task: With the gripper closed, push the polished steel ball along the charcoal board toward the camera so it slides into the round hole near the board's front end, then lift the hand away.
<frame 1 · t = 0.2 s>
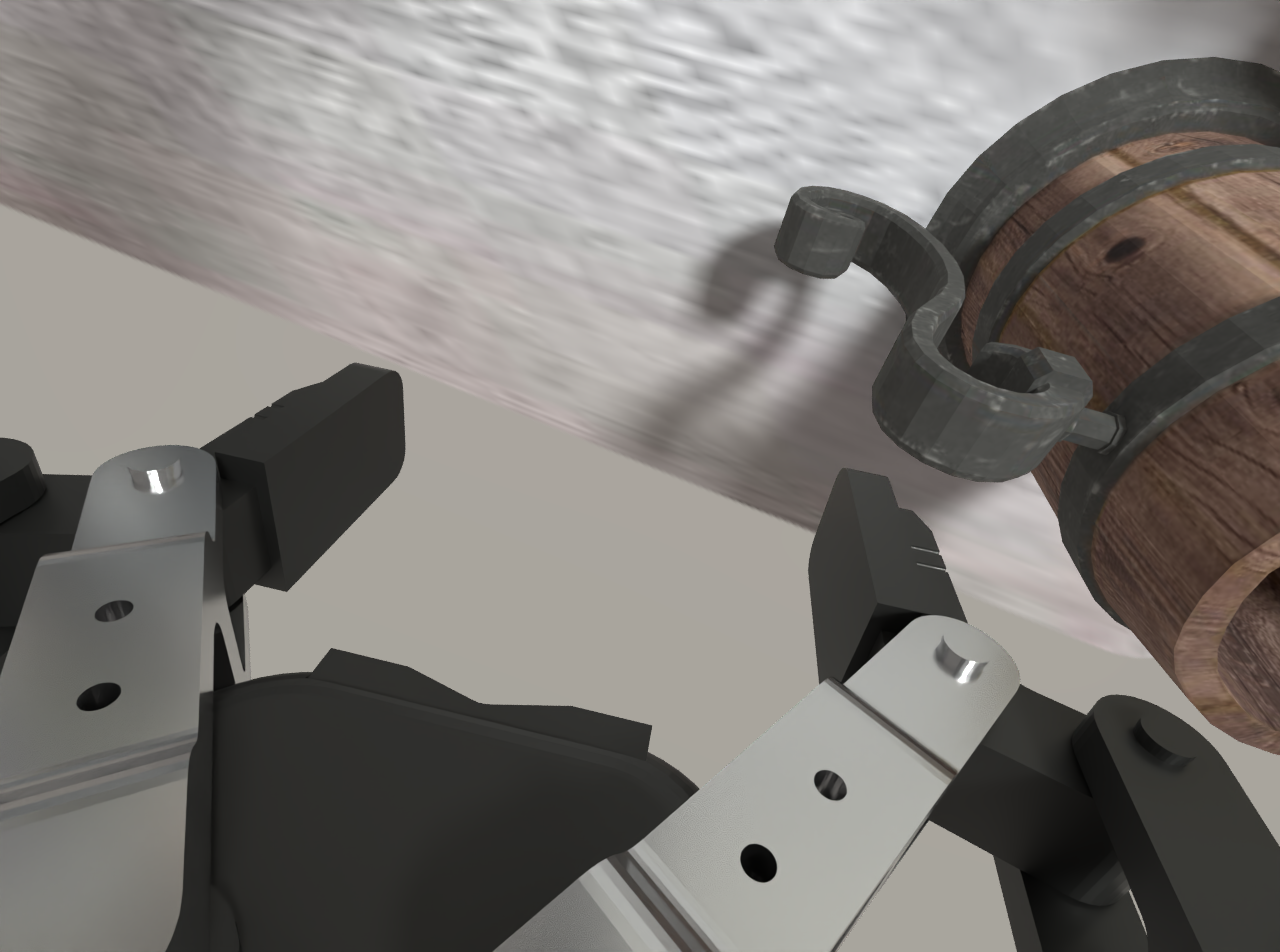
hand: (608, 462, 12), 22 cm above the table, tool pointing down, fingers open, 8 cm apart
tankard: (1034, 259, 29), on the table
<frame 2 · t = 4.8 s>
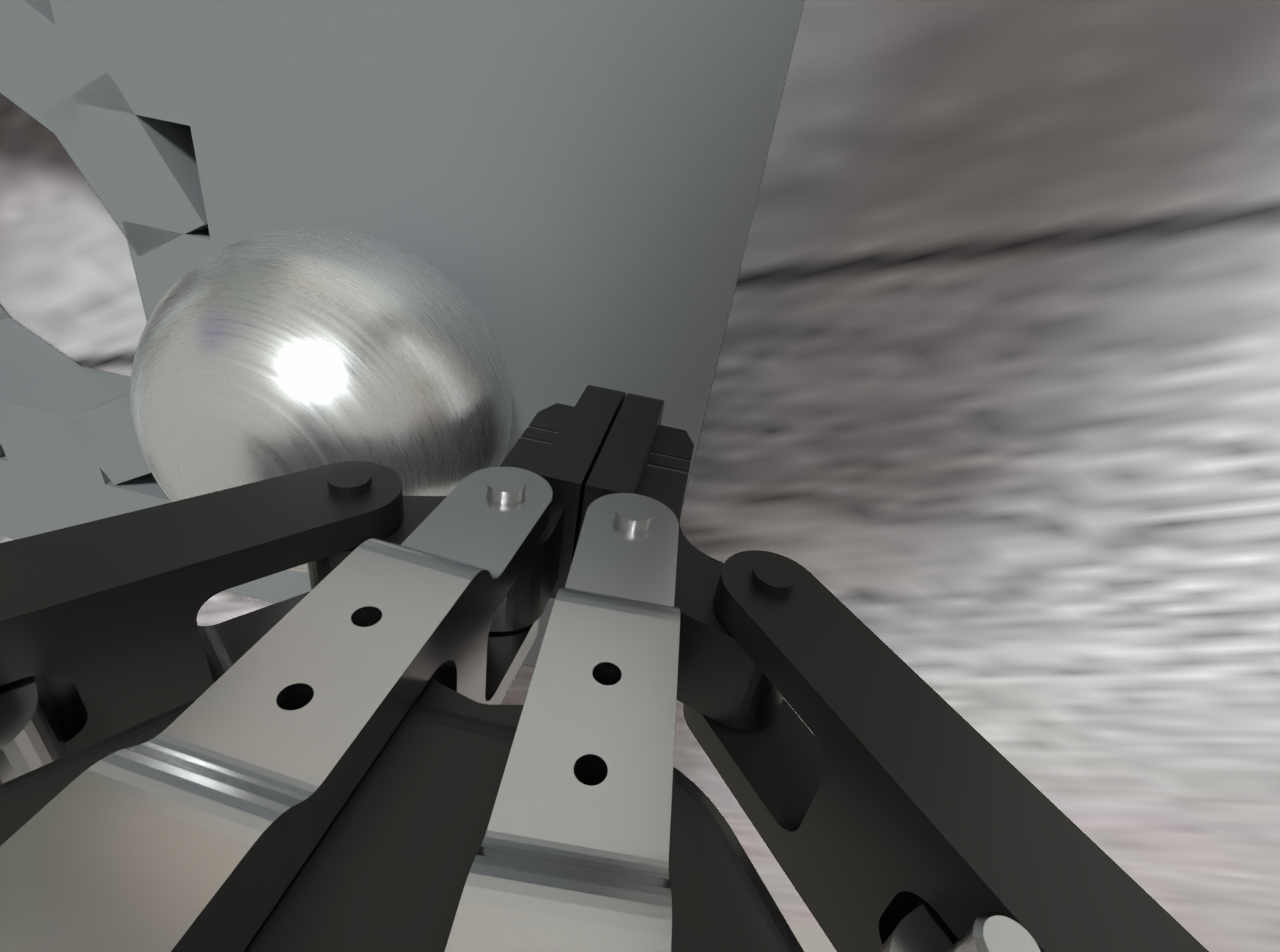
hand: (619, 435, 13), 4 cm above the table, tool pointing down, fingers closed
deck: (255, 271, 17), on the table
ball: (342, 405, 12), point 6 cm above the table, touching gripper
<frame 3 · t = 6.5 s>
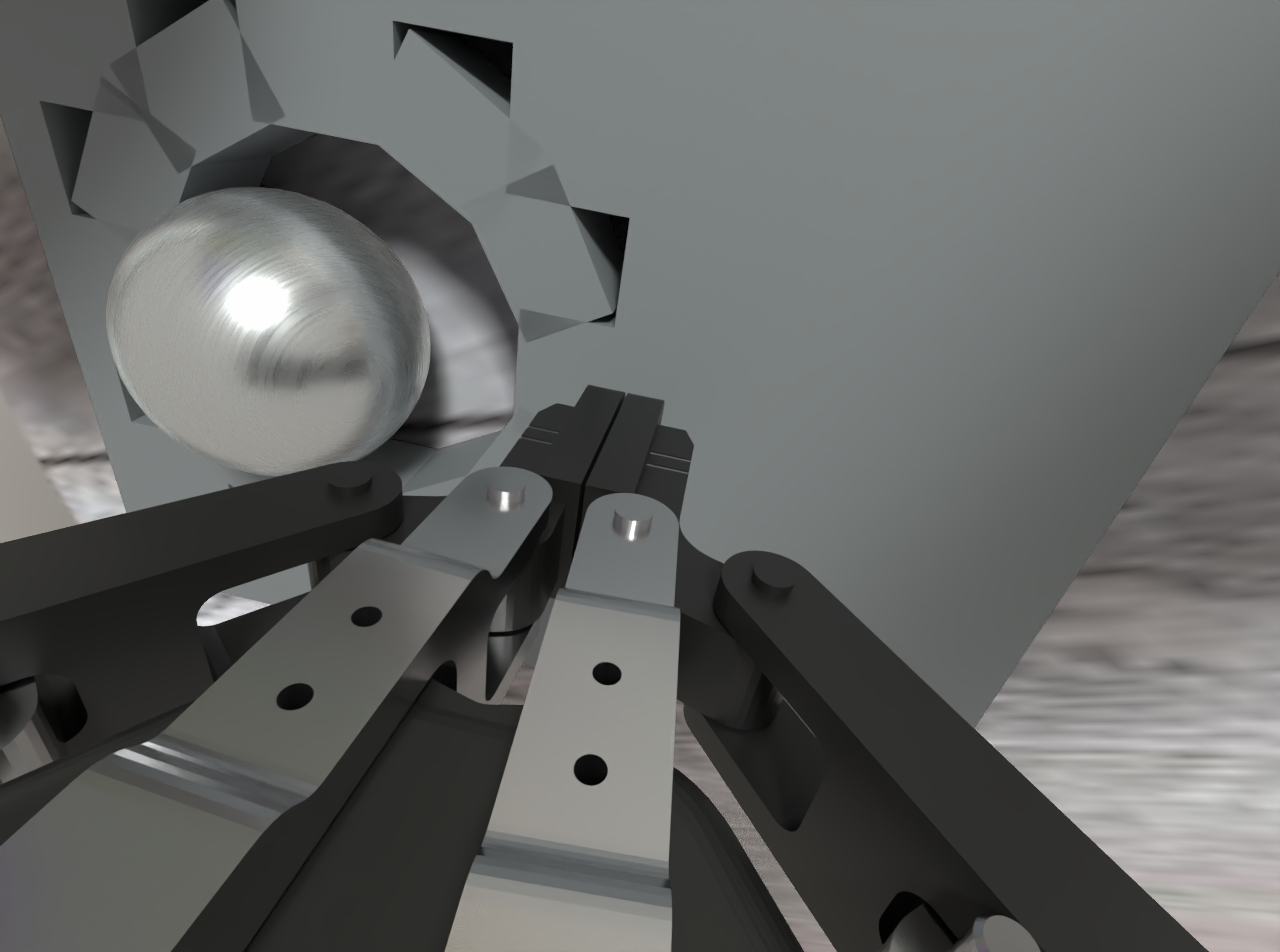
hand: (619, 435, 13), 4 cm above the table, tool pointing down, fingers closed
deck: (587, 345, 16), on the table
ball: (285, 338, 14), point 3 cm above the table, tilted 121°
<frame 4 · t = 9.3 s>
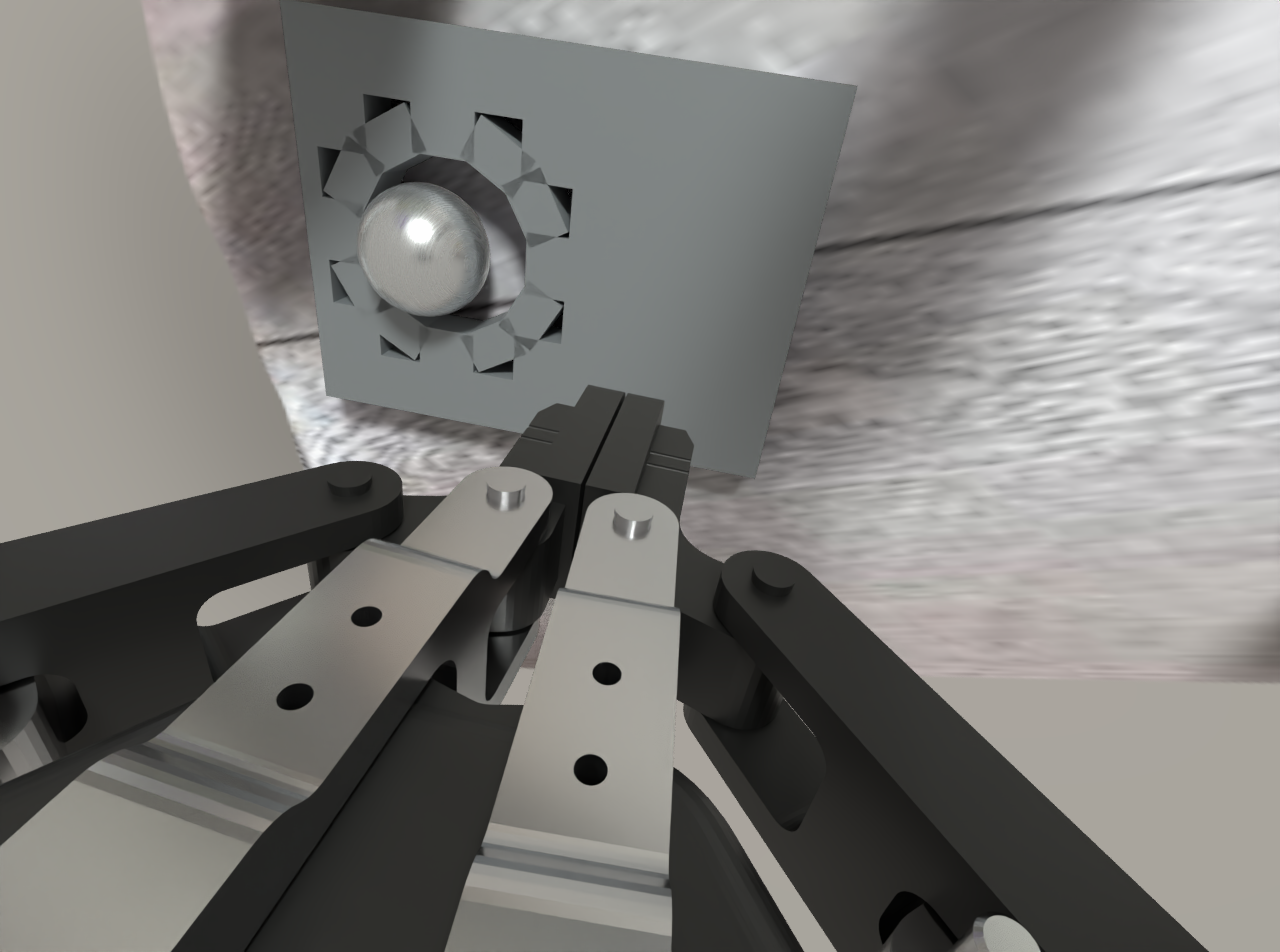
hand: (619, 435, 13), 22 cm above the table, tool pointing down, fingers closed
deck: (559, 257, 33), on the table
ball: (425, 251, 31), point 3 cm above the table, tilted 116°
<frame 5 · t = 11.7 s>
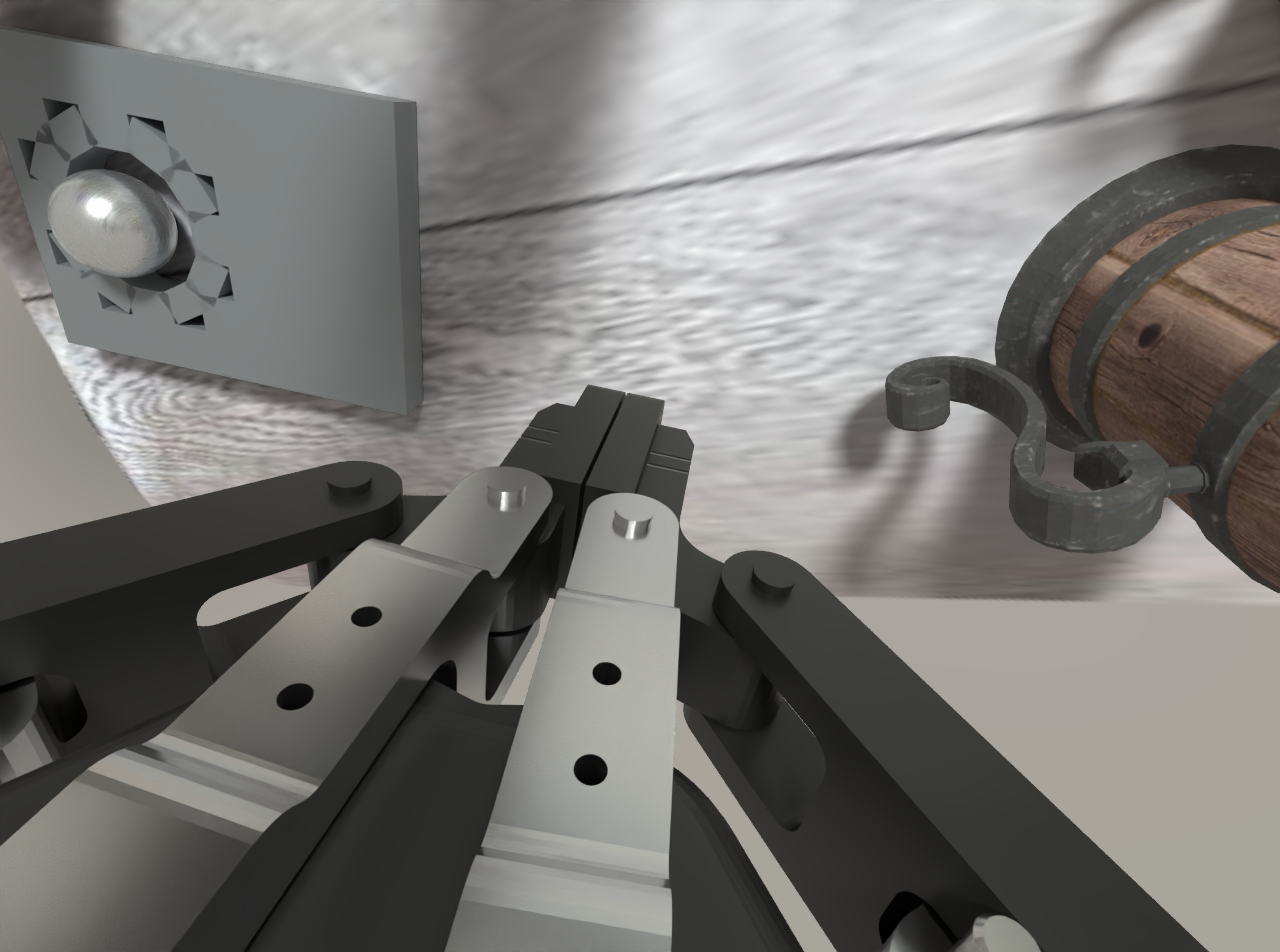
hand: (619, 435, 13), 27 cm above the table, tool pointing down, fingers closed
deck: (237, 231, 41), on the table
tankard: (1096, 331, 36), on the table
ball: (115, 224, 38), point 3 cm above the table, tilted 111°
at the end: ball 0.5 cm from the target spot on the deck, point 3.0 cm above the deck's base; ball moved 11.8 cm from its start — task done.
